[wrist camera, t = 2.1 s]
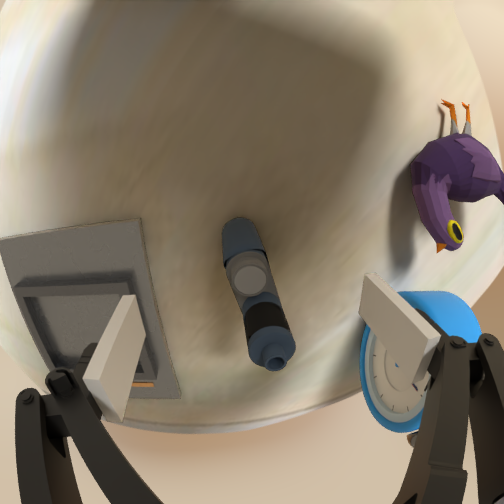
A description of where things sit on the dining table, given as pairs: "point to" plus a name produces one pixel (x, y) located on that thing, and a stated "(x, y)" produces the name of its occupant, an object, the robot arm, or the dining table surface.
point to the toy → (453, 180)
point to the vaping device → (256, 295)
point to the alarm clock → (390, 375)
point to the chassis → (88, 295)
